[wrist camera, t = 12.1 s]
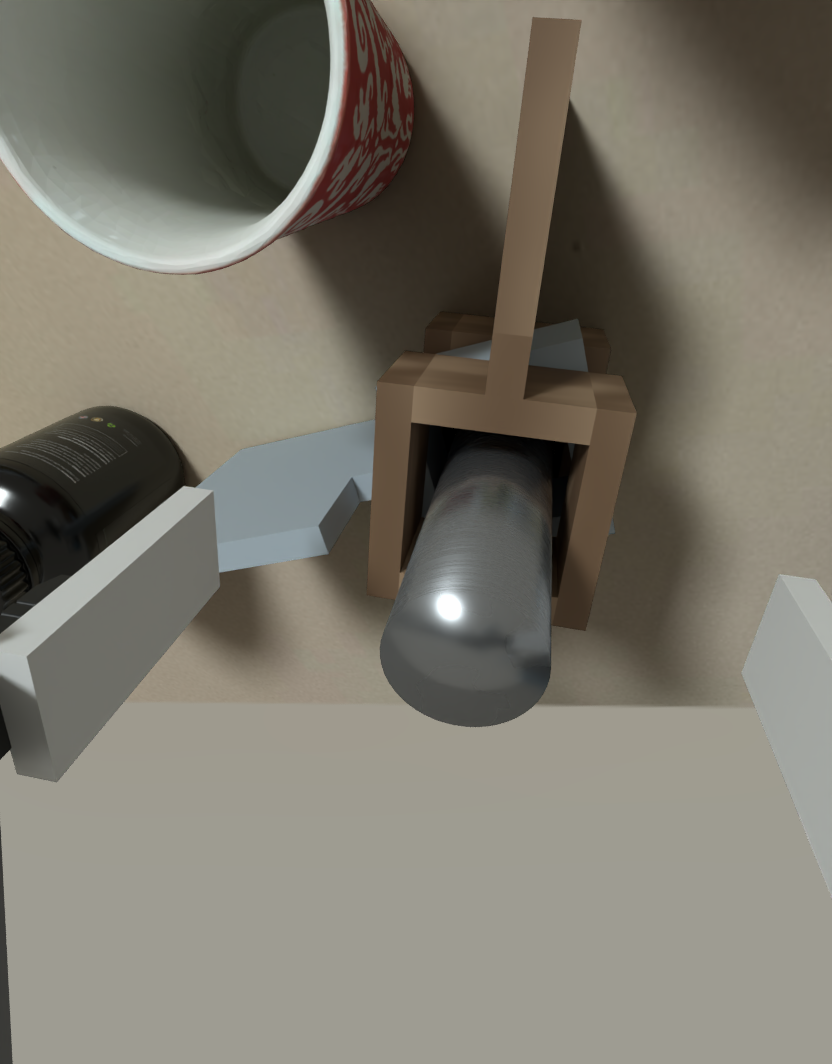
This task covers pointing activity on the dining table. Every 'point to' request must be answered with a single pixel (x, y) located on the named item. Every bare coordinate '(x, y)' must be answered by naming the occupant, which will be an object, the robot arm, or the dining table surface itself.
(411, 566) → the hinge pin
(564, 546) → the brown frame with handle
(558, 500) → the hinge leaf swing
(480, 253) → the dining table surface
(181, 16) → the mug
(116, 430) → the supplement bottle
